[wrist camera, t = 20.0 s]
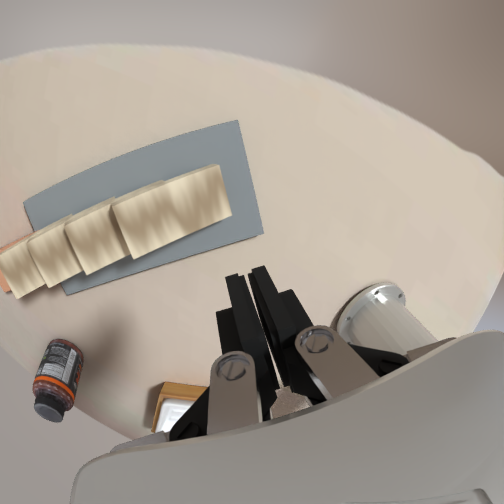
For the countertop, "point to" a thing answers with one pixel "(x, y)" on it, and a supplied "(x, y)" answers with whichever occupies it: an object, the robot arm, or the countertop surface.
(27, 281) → the domino
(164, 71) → the countertop surface
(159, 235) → the domino
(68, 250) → the domino
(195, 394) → the soap dish
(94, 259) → the domino
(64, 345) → the supplement bottle
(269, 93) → the countertop surface
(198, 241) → the runway mat
